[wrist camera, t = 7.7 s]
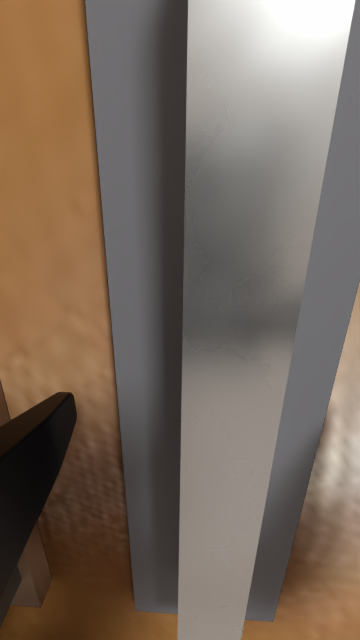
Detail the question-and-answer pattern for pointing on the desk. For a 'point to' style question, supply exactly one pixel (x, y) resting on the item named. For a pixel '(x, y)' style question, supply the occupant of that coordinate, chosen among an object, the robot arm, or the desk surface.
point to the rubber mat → (167, 289)
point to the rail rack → (26, 562)
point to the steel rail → (245, 271)
